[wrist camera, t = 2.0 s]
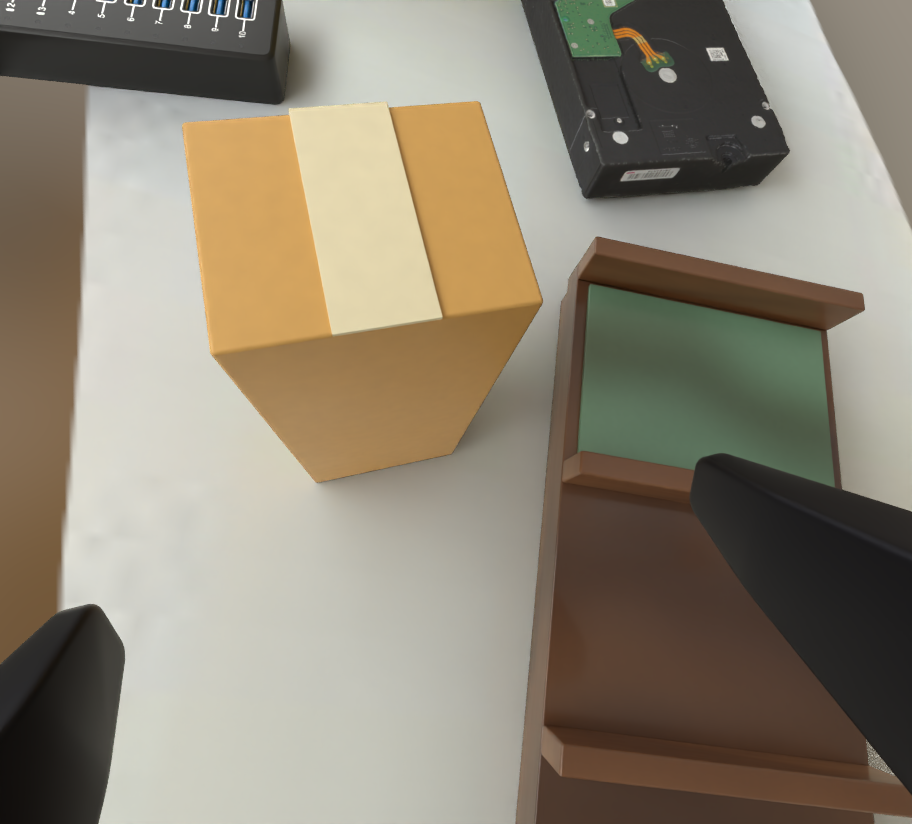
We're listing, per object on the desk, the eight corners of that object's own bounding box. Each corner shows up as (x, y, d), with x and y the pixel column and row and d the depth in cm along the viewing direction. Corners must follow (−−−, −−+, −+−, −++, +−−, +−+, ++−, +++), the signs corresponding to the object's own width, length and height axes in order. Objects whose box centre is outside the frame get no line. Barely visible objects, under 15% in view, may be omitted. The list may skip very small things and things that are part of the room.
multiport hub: (283, 105, 24) (273, 60, 22) (-52, 70, 23) (-99, 17, 20) (291, 38, 26) (282, -11, 24) (-26, -1, 24) (-67, -58, 22)
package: (452, 454, 21) (546, 300, 9) (315, 484, 19) (207, 354, 8) (427, 353, 22) (481, 94, 10) (297, 376, 21) (178, 116, 9)
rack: (816, 1053, 16) (982, 1241, 12) (487, 1031, 15) (529, 1224, 11) (773, 343, 24) (864, 292, 20) (554, 299, 23) (595, 235, 19)
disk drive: (756, 192, 27) (671, -12, 31) (797, 152, 25) (698, -66, 28) (579, 208, 25) (510, -11, 29) (603, 167, 23) (523, -69, 26)
